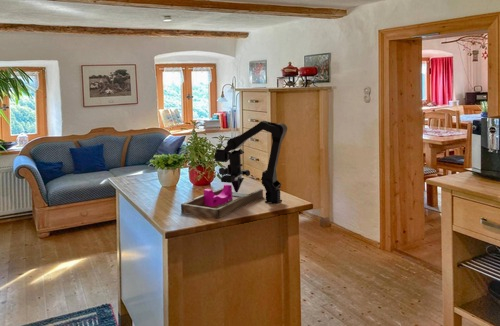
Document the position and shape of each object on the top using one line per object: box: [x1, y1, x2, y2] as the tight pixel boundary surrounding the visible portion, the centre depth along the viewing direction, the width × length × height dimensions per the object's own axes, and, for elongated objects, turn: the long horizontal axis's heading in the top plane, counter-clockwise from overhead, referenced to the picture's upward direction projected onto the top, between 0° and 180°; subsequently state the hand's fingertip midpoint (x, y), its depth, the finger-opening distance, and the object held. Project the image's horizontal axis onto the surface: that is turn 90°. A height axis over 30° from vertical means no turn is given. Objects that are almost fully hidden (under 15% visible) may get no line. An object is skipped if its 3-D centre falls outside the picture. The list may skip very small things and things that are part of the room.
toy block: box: [203, 183, 233, 208], centre depth 226 cm, size 15×6×8 cm, turn 132°
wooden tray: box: [180, 187, 264, 220], centre depth 223 cm, size 21×40×4 cm, turn 149°
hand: (236, 192), depth 232 cm, fingers closed
